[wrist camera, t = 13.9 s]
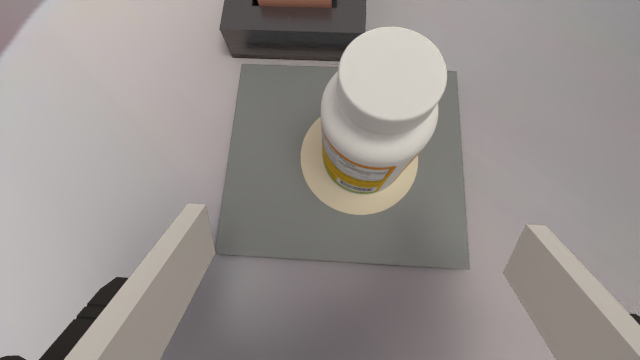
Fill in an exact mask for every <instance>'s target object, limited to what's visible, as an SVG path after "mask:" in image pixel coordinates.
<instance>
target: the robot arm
mask: <svg viewBox="0 0 640 360" xmlns="http://www.w3.org/2000/svg"><path fill="white" fill-rule="evenodd" d="M214 255H215V248H214V243H213V238H212V233H211V228H210V223H209V218H208V213H207V208H206V204H191V203H188V204H187V205H186V207H185V208H184V209H183V210H182V212H181V213H180V214H179V215H178V217H177V218H176V219H175V220H174V222H173V223H172V224H171V225H170V227H169V228H168V229H167V230H166V232H165V233H164V234H163V236H162V237H161V238H160V239H159V241H158V242H157V243H156V244H155V246H154V247H153V248H152V249H151V251H150V252H149V253H148V254H147V256H146V257H145V258H144V259H143V261H142V262H141V263H140V264H139V266H138V267H137V268H136V270H135V271H134V272H133V273H132V275H131V276H130V277H129V278H122V277H116V278H115V279H113V280H112V281H111V282H109V283H108V284H107V285H105V286H104V287H102V288H101V289H100V290H99V291H98V292H97V293H96V294H95V296H94V297H93V298H92V299H91V300H90V301H89V303H88V304H87V307H84V308H83V309H82V311H81V312H80V313H79V314H78V315H77V318H76V319H74V320H73V321H72V322H71V323H70V324H69V326H68V327H67V328H66V329H65V330H64V331H63V333H62V334H61V335H60V336H59V337H58V338H57V340H56V341H55V342H54V343H53V344H52V345H51V346H50V348H49V349H48V350H47V351H46V352H45V353H44V355H43V356H42V357H41V358H40V359H39V360H160V359H161V357H162V355H163V353H164V352H165V350H166V348H167V346H168V344H169V342H170V340H171V338H172V336H173V334H174V332H175V330H176V328H177V326H178V325H179V323H180V321H181V319H182V317H183V315H184V313H185V311H186V309H187V307H188V305H189V303H190V301H191V299H192V298H193V296H194V294H195V292H196V290H197V288H198V286H199V284H200V282H201V280H202V278H203V276H204V274H205V272H206V271H207V269H208V267H209V265H210V263H211V261H212V259H213V257H214ZM503 274H504V275H505V277H506V279H507V280H508V282H509V284H510V285H511V287H512V288H513V290H514V292H515V293H516V295H517V297H518V298H519V300H520V302H521V303H522V305H523V306H524V308H525V310H526V311H527V313H528V315H529V316H530V318H531V320H532V321H533V323H534V324H535V326H536V328H537V329H538V331H539V333H540V334H541V336H542V337H543V339H544V341H545V342H546V344H547V346H548V347H549V349H550V351H551V352H552V354H553V355H554V357H555V359H556V360H640V317H639V316H638V315H636V314H629V313H628V312H627V311H626V310H625V309H624V308H623V307H622V306H621V305H620V304H619V303H618V301H617V300H616V299H615V298H614V297H613V296H612V295H611V294H610V293H609V292H608V291H607V290H606V289H605V288H604V287H603V286H602V285H601V283H600V282H599V281H598V280H597V279H596V278H595V277H594V276H593V275H592V274H591V273H590V272H589V271H588V270H587V269H586V268H585V267H584V265H583V264H582V263H581V262H580V261H579V260H578V259H577V258H576V257H575V256H574V255H573V254H572V253H571V252H570V251H569V250H568V249H567V247H566V246H565V245H564V244H563V243H562V242H561V241H560V240H559V239H558V238H557V237H556V236H555V235H554V234H553V233H552V232H551V231H550V229H549V228H548V227H547V226H545V225H529V224H526V226H525V228H524V230H523V232H522V234H521V236H520V238H519V240H518V243H517V245H516V247H515V249H514V251H513V253H512V255H511V257H510V259H509V261H508V263H507V265H506V267H505V270H504V272H503ZM0 360H26V359H24V358H22V357H20V356H5V357H2V358H0Z"/></svg>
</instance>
